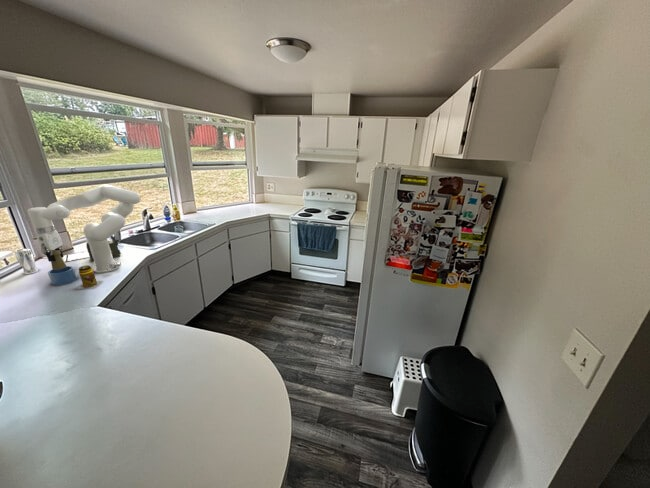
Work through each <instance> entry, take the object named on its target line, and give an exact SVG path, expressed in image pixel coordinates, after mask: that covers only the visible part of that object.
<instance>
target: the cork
mask: <svg viewBox="0 0 650 488" xmlns="http://www.w3.org/2000/svg"><path fill="white" fill-rule="evenodd" d="M48 252H49V253H50V251H48ZM52 252H53V255H54V256H55V258H56V261H52V262H50V264H51V270H52V269H53V270H60V269H64V268H66V267H67V266H68V265H67V264H66V262H64V261H63V257H61V256H60V254H61V252H60V251H59V250H52Z"/></svg>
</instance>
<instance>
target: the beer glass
mask: <svg viewBox="0 0 650 488" xmlns="http://www.w3.org/2000/svg"><path fill="white" fill-rule="evenodd" d="M13 253H14V255H15V259H16V261H17V262H18V263H19V264H20V266H21V267H22V270H23V274H24V275H29V274H34V273H37V272H39V269H38V267H37V266H36V263H35V256H34V253H33V251H32V250H31V248H19V249H16V250H14V251H13Z"/></svg>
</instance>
